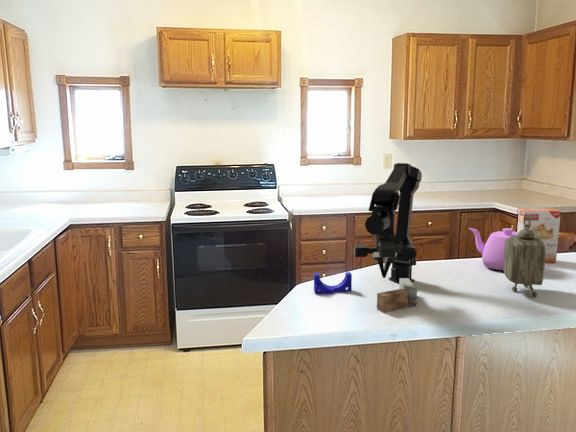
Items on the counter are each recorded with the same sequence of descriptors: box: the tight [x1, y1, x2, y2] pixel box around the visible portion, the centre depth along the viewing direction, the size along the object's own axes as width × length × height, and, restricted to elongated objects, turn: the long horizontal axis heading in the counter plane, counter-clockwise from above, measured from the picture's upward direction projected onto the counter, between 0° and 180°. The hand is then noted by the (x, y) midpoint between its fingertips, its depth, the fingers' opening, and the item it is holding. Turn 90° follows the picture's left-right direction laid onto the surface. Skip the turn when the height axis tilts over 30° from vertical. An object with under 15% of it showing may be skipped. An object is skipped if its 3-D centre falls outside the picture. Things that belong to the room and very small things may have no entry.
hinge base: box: [376, 288, 418, 313], centre depth 153 cm, size 13×4×5 cm, turn 117°
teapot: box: [468, 227, 518, 271], centre depth 198 cm, size 23×21×15 cm
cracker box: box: [516, 208, 562, 264], centre depth 203 cm, size 14×6×21 cm, turn 87°
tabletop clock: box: [503, 215, 546, 298], centre depth 166 cm, size 14×9×25 cm, turn 168°
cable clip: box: [313, 271, 353, 295], centre depth 169 cm, size 12×4×6 cm, turn 93°
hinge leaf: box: [398, 278, 418, 299], centre depth 160 cm, size 13×4×5 cm, turn 177°
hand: (383, 277), depth 162 cm, fingers closed
